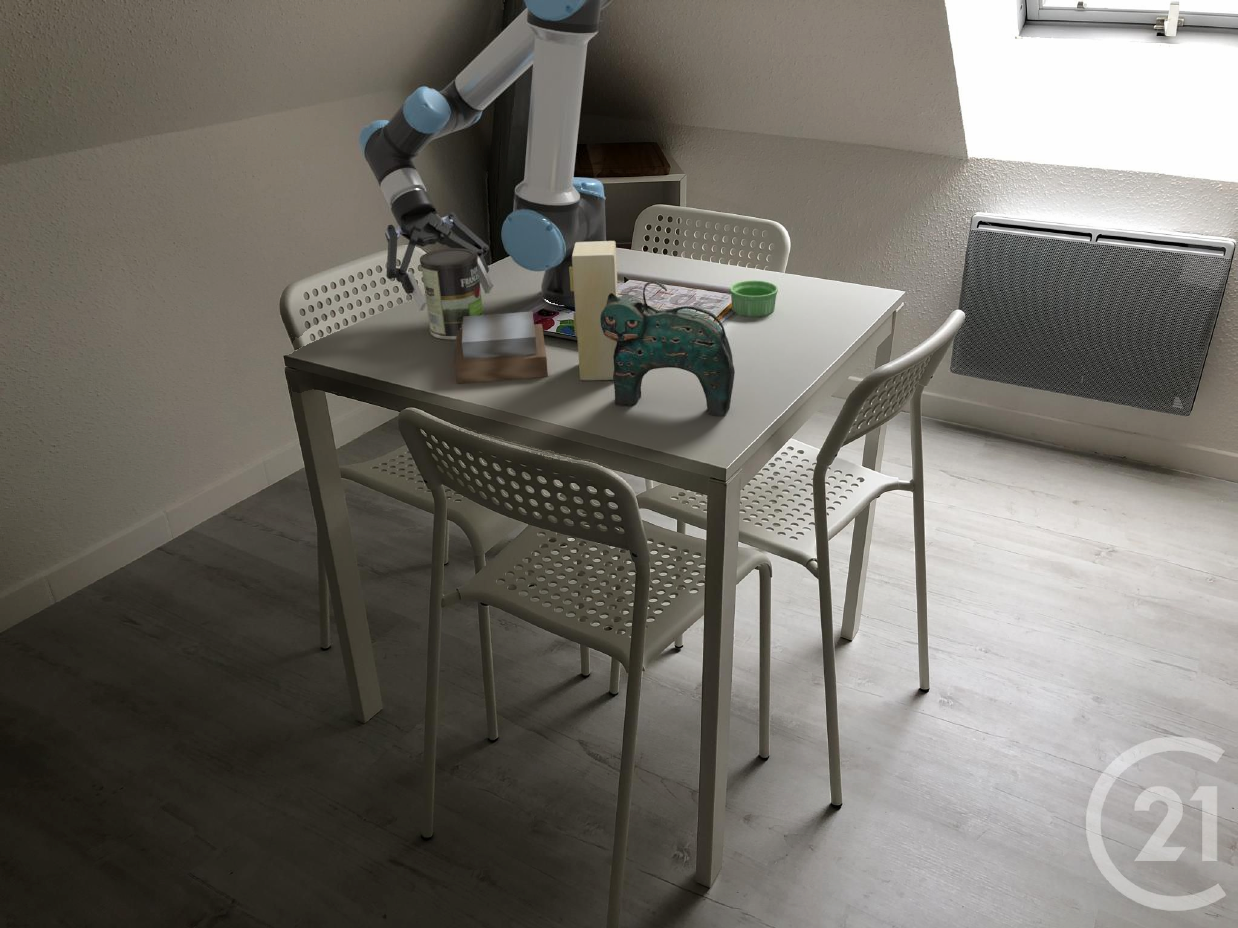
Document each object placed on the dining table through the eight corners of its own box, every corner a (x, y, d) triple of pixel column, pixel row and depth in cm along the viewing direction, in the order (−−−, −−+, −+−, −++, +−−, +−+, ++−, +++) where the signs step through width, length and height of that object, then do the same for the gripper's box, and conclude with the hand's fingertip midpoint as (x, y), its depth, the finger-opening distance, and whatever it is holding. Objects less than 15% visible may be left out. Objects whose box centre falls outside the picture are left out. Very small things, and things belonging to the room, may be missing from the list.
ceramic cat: (602, 406, 151) (596, 282, 141) (615, 389, 156) (611, 268, 146) (727, 422, 145) (730, 293, 135) (737, 403, 150) (741, 278, 140)
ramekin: (719, 310, 186) (720, 287, 184) (752, 298, 191) (753, 277, 189) (753, 322, 180) (754, 299, 178) (786, 310, 184) (788, 288, 182)
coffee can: (494, 322, 184) (487, 249, 177) (469, 342, 175) (460, 267, 168) (446, 317, 187) (437, 245, 180) (419, 337, 179) (408, 262, 172)
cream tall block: (578, 362, 166) (571, 241, 156) (621, 361, 166) (616, 240, 155) (574, 381, 159) (567, 256, 149) (619, 380, 159) (615, 255, 148)
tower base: (543, 342, 174) (540, 307, 171) (547, 376, 161) (545, 339, 158) (459, 348, 173) (454, 314, 170) (456, 383, 160) (452, 346, 157)
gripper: (462, 199, 189) (509, 292, 186) (341, 224, 177) (389, 324, 174) (473, 176, 183) (521, 272, 180) (348, 200, 170) (398, 304, 167)
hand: (457, 298), depth 177 cm, fingers open, 13 cm apart
